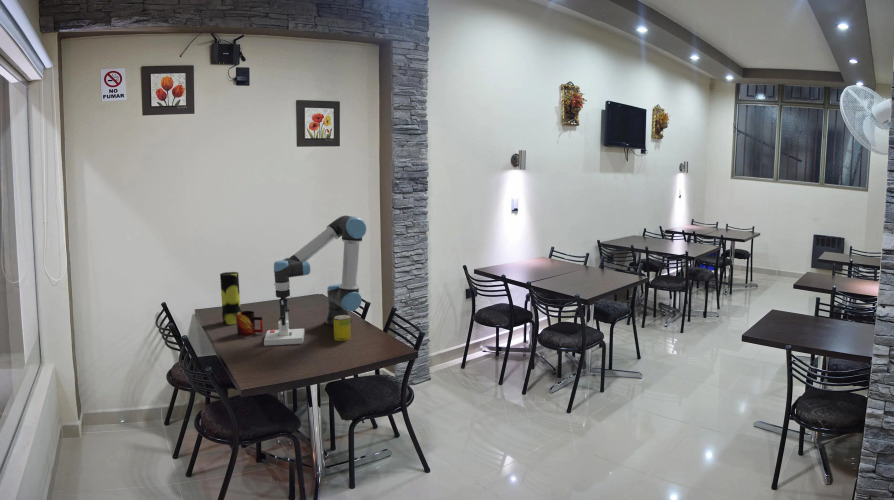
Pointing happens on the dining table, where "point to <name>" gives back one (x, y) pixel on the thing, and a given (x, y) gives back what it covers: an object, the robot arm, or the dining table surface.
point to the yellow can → (342, 328)
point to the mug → (247, 323)
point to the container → (230, 297)
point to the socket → (284, 337)
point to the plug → (282, 333)
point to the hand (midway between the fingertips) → (285, 327)
